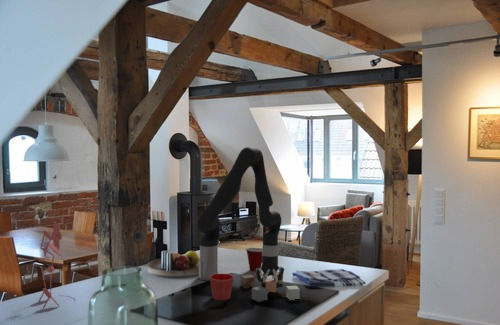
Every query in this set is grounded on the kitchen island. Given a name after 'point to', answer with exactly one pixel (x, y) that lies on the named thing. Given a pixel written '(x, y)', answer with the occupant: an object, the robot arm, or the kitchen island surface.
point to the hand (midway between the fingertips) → (269, 289)
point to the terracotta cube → (270, 285)
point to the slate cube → (259, 293)
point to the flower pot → (221, 286)
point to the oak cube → (277, 277)
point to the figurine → (55, 237)
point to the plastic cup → (254, 258)
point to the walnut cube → (247, 281)
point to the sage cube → (292, 292)
